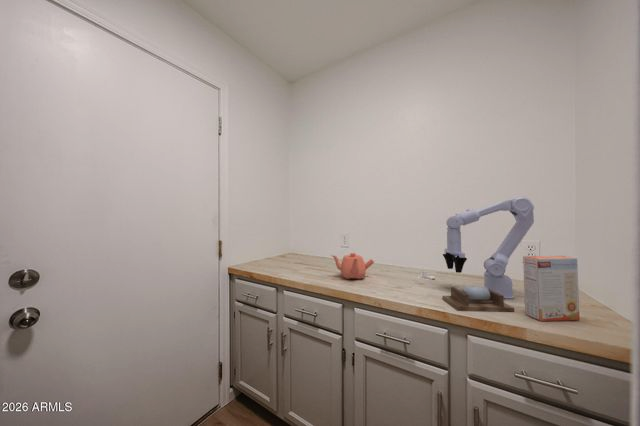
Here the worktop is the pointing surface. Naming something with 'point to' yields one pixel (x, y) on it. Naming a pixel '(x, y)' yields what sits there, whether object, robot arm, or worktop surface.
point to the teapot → (353, 266)
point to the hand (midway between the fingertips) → (454, 270)
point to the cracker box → (551, 288)
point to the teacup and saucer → (426, 275)
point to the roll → (477, 293)
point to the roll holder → (477, 302)
